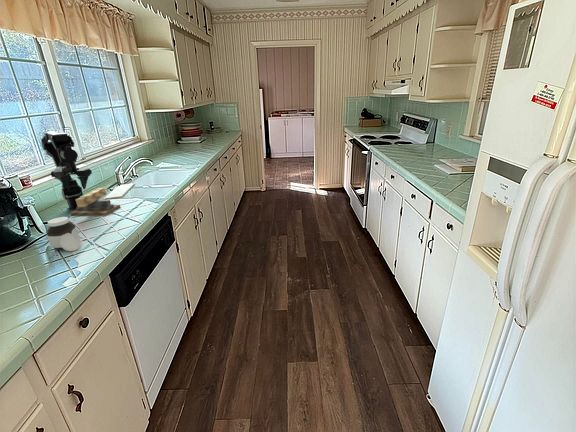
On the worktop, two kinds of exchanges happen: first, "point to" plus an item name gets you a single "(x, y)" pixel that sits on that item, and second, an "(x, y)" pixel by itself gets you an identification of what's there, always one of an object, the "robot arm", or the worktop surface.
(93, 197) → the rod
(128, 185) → the baseboard molding
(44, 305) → the worktop surface
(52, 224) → the spread jar
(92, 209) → the ridge stand
